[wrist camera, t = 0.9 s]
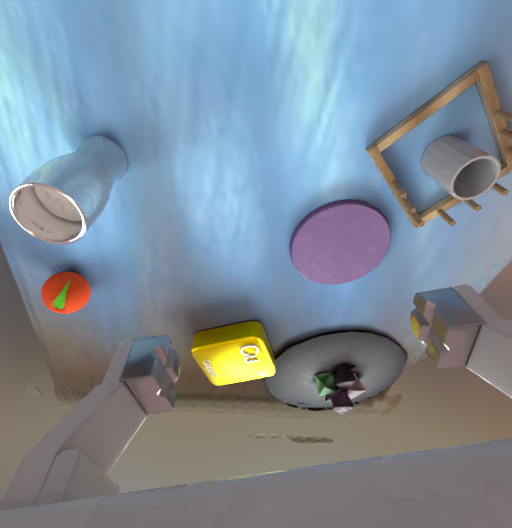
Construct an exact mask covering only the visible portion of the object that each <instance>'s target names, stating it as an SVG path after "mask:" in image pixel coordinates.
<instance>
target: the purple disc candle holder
mask: <svg viewBox="0 0 512 528" xmlns="http://www.w3.org/2000/svg"><path fill="white" fill-rule="evenodd" d="M389 244H390V228H389V224H388V222H387V219H386V218H385V216H384V215H383V214H382V212H381V211H380V210H379V209H377V208H376V207H375V206H373V205H371V204H369V203H366V202H363V201H358V200H340V201H335V202H331V203H328V204H325V205H323V206H321V207H319V208H317V209H315V210H314V211H312V212H311V213H309V214H308V215H307V216H306V217H305V218H304V219H303V220H302V221H301V222H300V223H299V225H298V226H297V227H296V229H295V231H294V233H293V235H292V238H291V242H290V256H291V259H292V262H293V264H294V266H295V267H296V269H297V270H298V271H299V272H300V273H301V274H302V275H303V276H304V277H306V278H307V279H309V280H311V281H314V282H317V283H321V284H342V283H346V282H350V281H353V280H356V279H358V278H360V277H362V276H364V275H365V274H367V273H368V272H370V271H371V270H372V269H374V268H375V267H376V266H377V265H378V264H379V263H380V261H381V260H382V259H383V257H384V256H385V254H386V252H387V250H388V247H389Z"/></svg>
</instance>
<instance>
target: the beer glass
mask: <svg viewBox="0 0 512 528" xmlns="http://www.w3.org/2000/svg"><path fill="white" fill-rule="evenodd" d="M127 168H128V161H127V157H126V154H125V153H124V151H123V149H122V148H121V147H120V146H119V145H118V144H117V143H116V142H115V141H113V140H111V139H110V138H107V137H104V136H100V135H94V136H89V137H87V138H85V139H84V140H83V141H82V142H81V143H80V145H79V147H78V149H77V150H76V151H75V152H72V153H69V154H66V155H63V156H60V157H57V158H55V159H53V160H50V161H48V162H46V163H45V164H43V165H42V166H40V167H39V168H37V169H36V170H35V171H34V172H32V173H31V174H30V175H29V176H28V177H27V178H26V179H25V180H24V181H23V182H22V183H21V184H20V185H19V186H18V187H16V188H15V189H14V190H13V191H12V193H11V194H10V197H9V208H10V211H11V213H12V216H13V217H14V219H15V220H16V222H17V223H18V224H19V225H20V226H21V227H22V228H23V229H24V230H25V231H27V232H28V233H29V234H31V235H32V236H34V237H36V238H38V239H40V240H43V241H46V242H49V243H54V244H69V243H73V242H75V241H77V240H79V239H80V238H81V237H82V236H83V235H84V233H85V232H86V231H87V230H88V229H89V228H90V227H91V226H92V225H93V224H94V223H95V221H96V220H97V219H98V218H99V216H100V215H101V213H102V212H103V210H104V209H105V207H106V204H107V202H108V200H109V196H110V193H111V190H112V187H113V184H114V183H115V182H116V181H117V180H119V179H121V178H122V177H123V176H124V175H125V174H126V172H127Z"/></svg>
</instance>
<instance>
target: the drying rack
mask: <svg viewBox="0 0 512 528" xmlns="http://www.w3.org/2000/svg"><path fill="white" fill-rule="evenodd" d="M474 83H476V84H477V87H478V90H479V93H480V96H481V99H482V102H483V105H484V108H485V111H486V114H487V117H488V120H489V123H490V126H491V129H492V132H493V135H494V138H495V141H496V144H497V147H498V149H499V152H500V155H501V158H502V161H503V163H501V164H500V165H501V170H500V175H499V177H498V179H499V178H501V177H503V176H504V175H506V174H508V173H509V172H510V171H512V131H509V130H508V127H507V124H506V121H508V122H511V123H512V114H511V113H508V112H505V111H503V110H502V107H501V104H500V101H499V97H498V94H497V91H496V87H495V84H494V81H493V77H492V74H491V71H490V68H489V64H488V62H483V61H481V62H480V63H479V64H477V65H476V66H475V67H473V68H472V70H469V71H468V72H467V73H465V74H464V75H463V76H461V77H460V78H459V79H457V80H456V81H455V82H454V83H452V84H451V85H450V86H448V87H447V88H446V89H444V90H443V91H442V92H440V93H439V94H438V95H436V96H435V97H434V98H432V99H431V100H430V101H428V102H427V103H426V104H424V105H423V106H422V107H420V108H419V109H418V110H416V111H415V112H414V113H413V114H411V115H410V116H409V117H407V118H406V119H405V120H403V121H402V122H401V123H399V124H398V125H397V126H395V127H394V128H393V129H391V130H390V131H389V132H387V133H386V134H385V135H383V136H382V137H381V138H379V139H378V140H377V141H375V142H374V143H373V144H371V145H370V146H369V147H367V148H366V151H367V153H368V154H369V156H370V157H371V159H372V161H373V162H374V164H375V165H376V167H377V169H378V170H379V172H380V173H381V175H382V177H383V178H384V180H385V181H386V183H387V185H388V186H389V188H390V189H391V191H392V193H393V194H394V196H395V197H396V199H397V201H398V202H399V204H400V205H401V207H402V209H403V210H404V212H405V213H406V215H407V217H408V218H409V220H410V221H411V223H412V225H413V226H414V227H415V228H417V227H419V226H423V225H424V223H426V222H427V221H429V220H431V219H432V218H434V217H436V216H437V215H440V216H441V217H442V218H443V219H444V220H445V221H446V222H447V223H448V224H449V225H450V226H452V225H454V224H455V221H454V220H453V219H452V218H451V217H450V216H449V215H448V214H447V213H446V212H445V211H446V210H447V209H449V208H451V207H452V206H454V205H456V204H457V203H459V202H461V201H462V200H459V199H457V198H455V197H453V196H452V195H449V196H448V197H446V198H444V199H443V200H441V201H440V202H438V203H436V204H435V205H433V206H431V207H430V208H428V209H427V210H425V211H423V212H422V213H420V214H418V215H417V213H416V208H415V207H414V206H413V205H412V204H411V202H410V201H409V200H408V198H407V193H406V192H405V191H404V190H403V189H402V187H401V186H400V185H399V183H398V181H397V180H396V178H395V176H394V175H393V173H392V171H391V170H390V168H389V166H388V165H387V163H386V161H385V159H384V158H383V156H382V154H381V153H380V152H382V151H383V150H384V149H386V148H387V147H389V146H390V145H391V144H393V143H394V142H395V141H397V140H398V139H399V138H401V137H402V136H403V135H405V134H406V133H408V132H409V131H410V130H412V129H413V128H414V127H416V126H417V125H418V124H420V123H421V122H423V121H424V120H425V119H427V118H428V117H429V116H431V115H432V114H433V113H435V112H436V111H437V110H439V109H440V108H442V107H443V106H444V105H446V104H447V103H448V102H450V101H451V100H452V99H454V98H455V97H457V96H458V95H459V94H461V93H462V92H463V91H465V90H466V89H467V88H469V87H470V86H471V85H473V84H474ZM498 179H497V180H498ZM491 188H493V189H494V190H496V191H497V192H499V193H500V194H502V195H507V194H508V192H509V191H508V190H507V189H505V188H504V187H502V186H501V185H499V184H497V183H495V184H494V185H493V186H492V187H491ZM463 201H464V202H465V203H467V204H468V205H469V206H470V207H471V208H473V209H474V210H475V211H479V210H480V209H481V206H480V205H478V204H477V203H476V202H475V201H473V200H472V199H471V200H463Z"/></svg>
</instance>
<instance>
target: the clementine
mask: <svg viewBox="0 0 512 528" xmlns="http://www.w3.org/2000/svg"><path fill="white" fill-rule="evenodd" d="M90 293H91V290H90V285H89V283H88V282H87V280H86V279H85V278H84V277H83V276H81V275H80V274H78V273H75V272H69V271H68V272H60V273H57V274H54V275H52V276H51V277H50V278H48V279H47V280H46V281H45V283H44V285H43V287H42V293H41V297H42V300H43V302H44V304H45V305H46V306H47V307H48V308H49V309H51V310H52V311H54V312H57V313H64V314H67V313H72V312H75V311H78V310H79V309H81V308H82V307H84V306H85V304H86V303H87V302H88V300H89V297H90Z"/></svg>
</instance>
